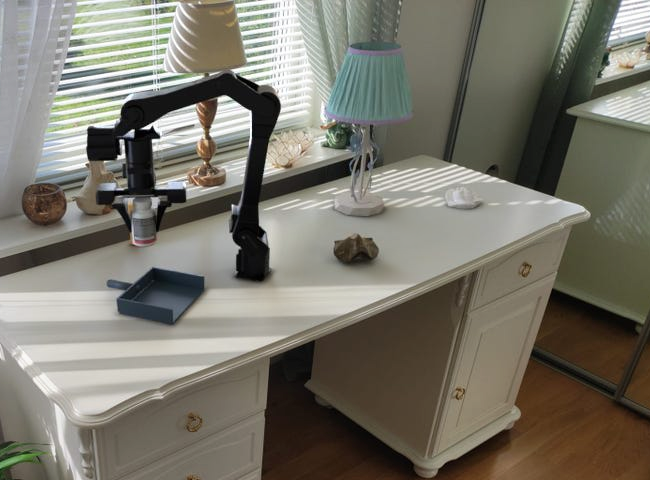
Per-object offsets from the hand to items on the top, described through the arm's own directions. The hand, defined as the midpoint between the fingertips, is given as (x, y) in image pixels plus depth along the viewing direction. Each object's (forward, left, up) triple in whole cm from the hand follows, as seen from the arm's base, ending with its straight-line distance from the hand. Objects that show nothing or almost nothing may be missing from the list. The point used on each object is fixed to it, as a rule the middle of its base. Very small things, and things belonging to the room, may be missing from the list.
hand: (144, 231), depth 154 cm
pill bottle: (0, 0, -3) cm, 3 cm away
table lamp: (-34, -57, -11) cm, 67 cm away
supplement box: (+10, -15, -11) cm, 21 cm away
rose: (-59, -70, -11) cm, 92 cm away
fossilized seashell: (-41, -25, -8) cm, 48 cm away
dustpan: (-5, +10, -11) cm, 15 cm away
